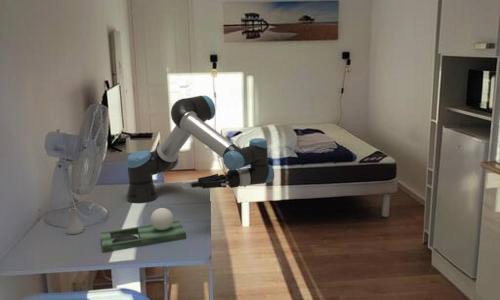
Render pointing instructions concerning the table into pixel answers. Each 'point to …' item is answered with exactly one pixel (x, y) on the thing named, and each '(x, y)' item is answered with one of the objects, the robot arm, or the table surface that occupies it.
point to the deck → (141, 236)
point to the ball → (161, 219)
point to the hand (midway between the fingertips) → (182, 185)
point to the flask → (74, 223)
